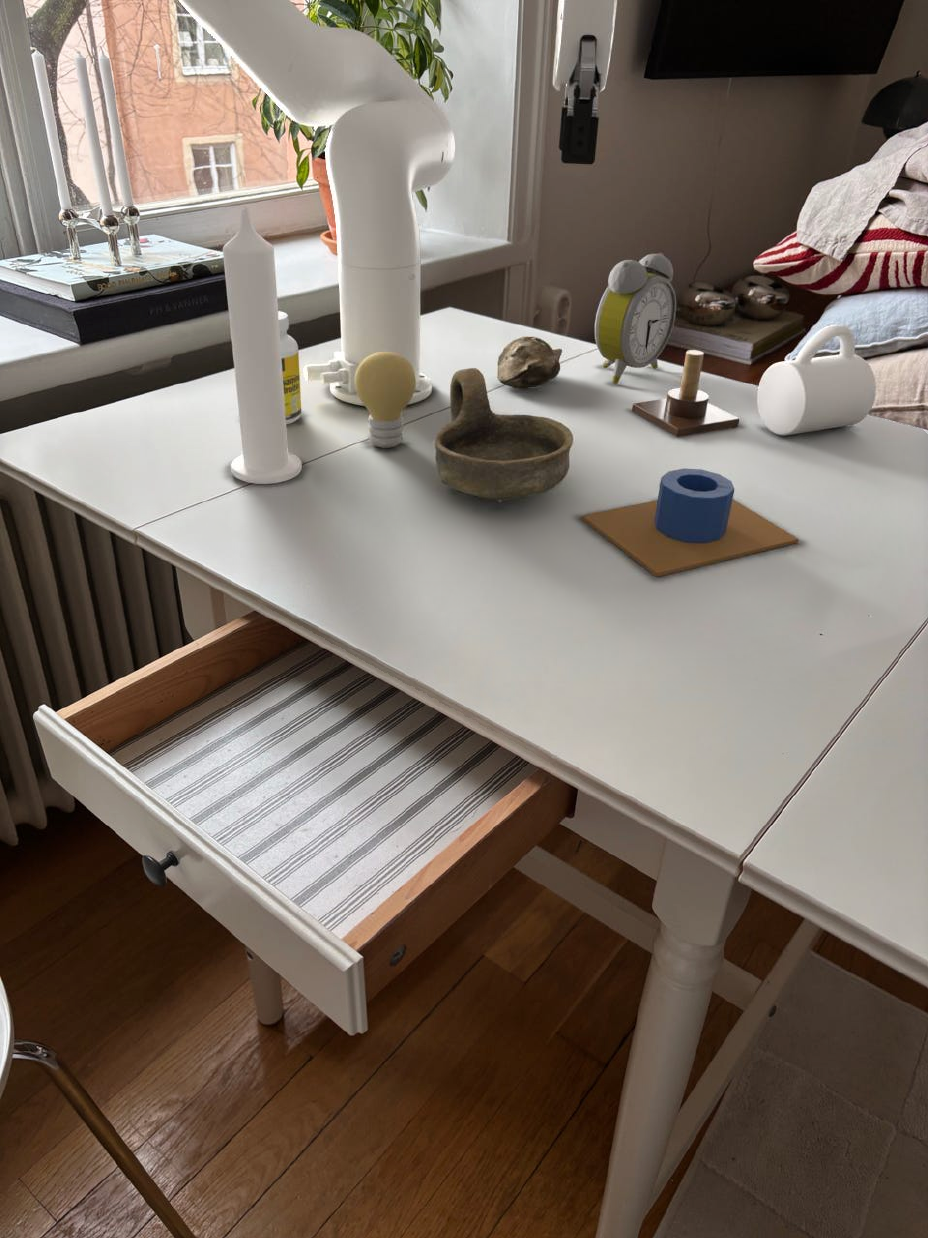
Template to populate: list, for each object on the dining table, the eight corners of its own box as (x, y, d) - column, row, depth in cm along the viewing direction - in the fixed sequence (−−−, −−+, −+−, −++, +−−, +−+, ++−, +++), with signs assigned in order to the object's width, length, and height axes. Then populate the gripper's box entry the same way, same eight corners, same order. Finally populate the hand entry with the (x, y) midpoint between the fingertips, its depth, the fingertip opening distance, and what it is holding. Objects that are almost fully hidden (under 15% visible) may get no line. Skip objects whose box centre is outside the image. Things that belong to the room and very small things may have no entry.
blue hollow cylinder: (683, 548, 85) (691, 502, 83) (641, 518, 90) (647, 474, 88) (739, 535, 88) (748, 490, 86) (695, 507, 93) (703, 464, 90)
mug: (750, 421, 114) (770, 319, 108) (816, 411, 118) (840, 312, 112) (797, 446, 108) (822, 340, 102) (866, 435, 112) (894, 331, 105)
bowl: (468, 532, 87) (472, 429, 82) (399, 461, 101) (399, 368, 95) (597, 510, 92) (609, 411, 87) (516, 444, 106) (522, 355, 100)
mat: (656, 577, 82) (657, 573, 82) (581, 518, 91) (581, 515, 90) (798, 542, 88) (799, 539, 88) (714, 491, 97) (715, 487, 97)
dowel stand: (676, 437, 109) (687, 368, 105) (631, 411, 116) (640, 345, 112) (738, 426, 113) (751, 359, 108) (690, 401, 119) (701, 337, 115)
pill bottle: (249, 430, 107) (239, 325, 100) (241, 410, 112) (231, 309, 106) (307, 425, 108) (301, 321, 102) (296, 405, 114) (290, 306, 107)
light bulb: (425, 439, 106) (426, 349, 101) (398, 459, 101) (397, 366, 96) (375, 428, 108) (373, 340, 103) (345, 447, 103) (342, 356, 98)
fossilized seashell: (531, 382, 116) (582, 378, 123) (519, 328, 116) (570, 327, 123) (488, 399, 122) (539, 395, 129) (476, 348, 121) (527, 347, 128)
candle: (308, 459, 100) (294, 202, 87) (292, 486, 94) (273, 216, 81) (243, 454, 101) (218, 198, 88) (222, 481, 95) (192, 211, 82)
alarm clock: (620, 389, 123) (635, 267, 115) (577, 376, 126) (589, 257, 118) (669, 370, 130) (686, 254, 122) (627, 358, 134) (641, 245, 126)
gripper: (550, -48, 94) (537, 145, 103) (554, -59, 79) (538, 166, 89) (627, -45, 94) (607, 148, 103) (644, -56, 79) (619, 170, 88)
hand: (575, 156), depth 96 cm, fingers open, 9 cm apart
